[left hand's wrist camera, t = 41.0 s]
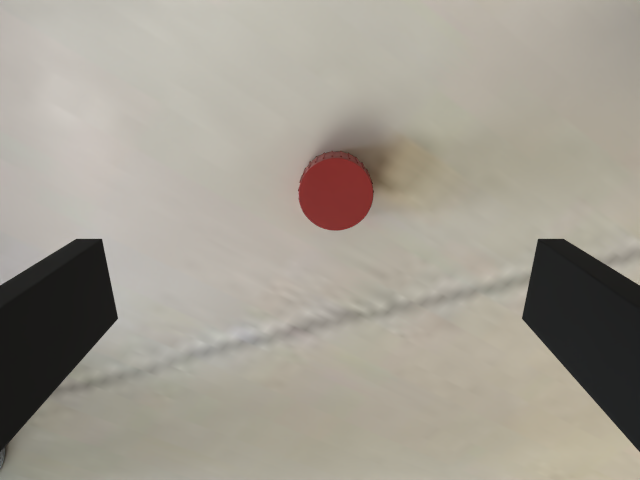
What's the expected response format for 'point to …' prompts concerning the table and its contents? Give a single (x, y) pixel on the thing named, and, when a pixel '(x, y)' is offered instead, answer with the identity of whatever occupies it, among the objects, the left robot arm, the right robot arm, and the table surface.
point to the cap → (335, 191)
